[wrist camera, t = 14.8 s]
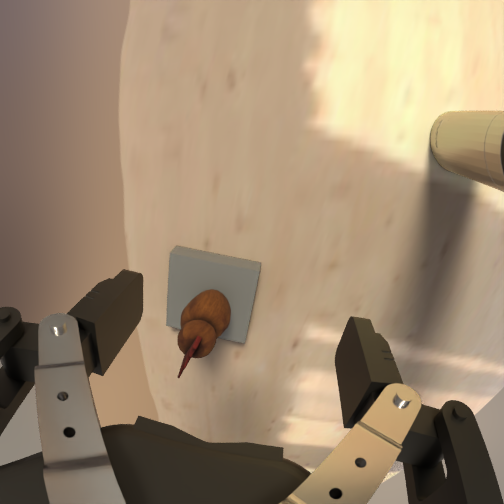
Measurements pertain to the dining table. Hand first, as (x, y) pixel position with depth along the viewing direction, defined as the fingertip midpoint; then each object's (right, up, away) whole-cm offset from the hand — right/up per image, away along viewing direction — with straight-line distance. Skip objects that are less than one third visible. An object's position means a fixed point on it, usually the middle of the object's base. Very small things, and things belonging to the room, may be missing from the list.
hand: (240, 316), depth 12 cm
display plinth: (-6, -4, +38) cm, 39 cm away
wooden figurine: (-5, -5, +35) cm, 36 cm away
